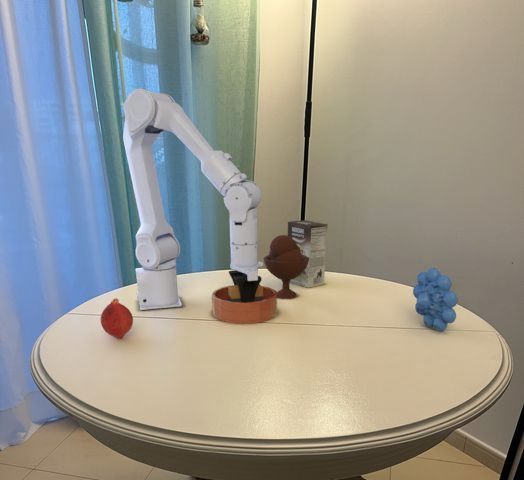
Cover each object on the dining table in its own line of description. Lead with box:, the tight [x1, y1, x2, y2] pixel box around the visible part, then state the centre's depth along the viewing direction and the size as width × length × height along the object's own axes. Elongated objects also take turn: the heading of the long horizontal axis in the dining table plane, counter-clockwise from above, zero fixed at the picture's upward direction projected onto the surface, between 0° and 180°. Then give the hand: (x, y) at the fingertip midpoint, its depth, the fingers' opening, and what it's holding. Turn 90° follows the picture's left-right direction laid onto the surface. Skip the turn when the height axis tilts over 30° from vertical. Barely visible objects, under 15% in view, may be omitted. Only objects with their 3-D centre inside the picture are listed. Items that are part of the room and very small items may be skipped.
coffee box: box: [287, 220, 329, 288], centre depth 121 cm, size 9×6×16 cm
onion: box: [100, 297, 134, 339], centre depth 86 cm, size 6×6×8 cm
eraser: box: [228, 283, 263, 302], centre depth 100 cm, size 7×4×6 cm, turn 106°
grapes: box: [412, 267, 459, 332], centre depth 90 cm, size 12×7×12 cm, turn 23°
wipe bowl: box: [211, 285, 278, 325], centre depth 100 cm, size 14×14×4 cm
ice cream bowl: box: [263, 234, 309, 300], centre depth 110 cm, size 11×11×15 cm
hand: (245, 304), depth 100 cm, fingers closed on eraser, 3 cm apart
